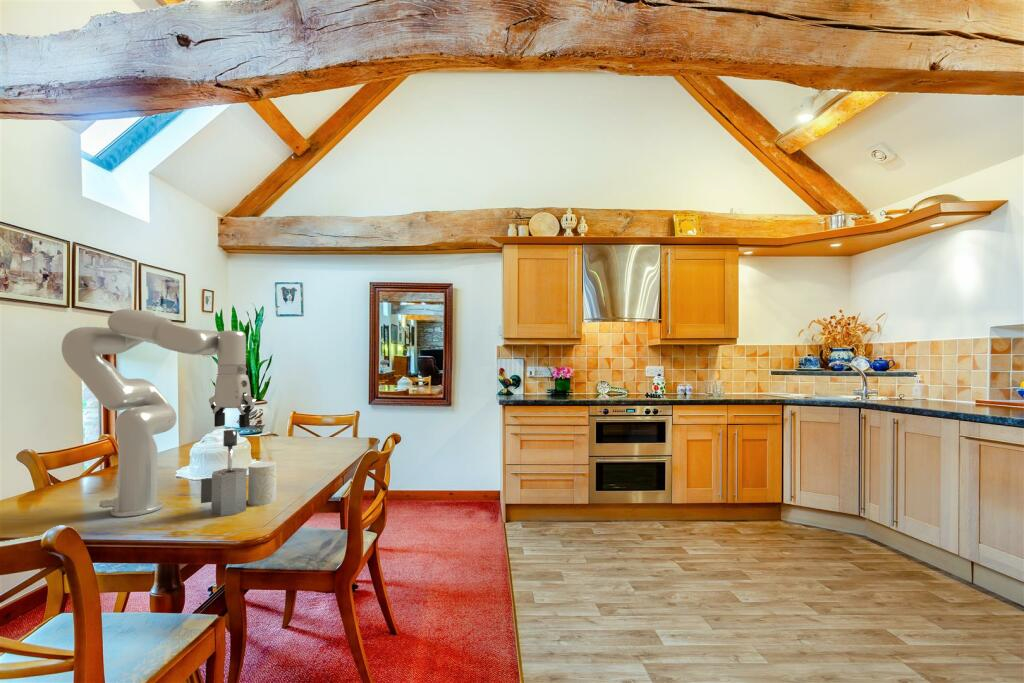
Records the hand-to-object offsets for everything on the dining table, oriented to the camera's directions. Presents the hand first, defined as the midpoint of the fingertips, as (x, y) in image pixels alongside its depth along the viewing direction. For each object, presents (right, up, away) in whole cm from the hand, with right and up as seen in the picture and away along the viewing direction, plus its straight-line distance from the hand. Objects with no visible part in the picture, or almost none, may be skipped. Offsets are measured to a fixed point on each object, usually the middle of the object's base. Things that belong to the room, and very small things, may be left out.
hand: (231, 426), depth 148 cm
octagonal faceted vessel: (-2, -26, -1) cm, 26 cm away
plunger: (0, -18, 0) cm, 18 cm away
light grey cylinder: (+5, -26, +9) cm, 28 cm away
